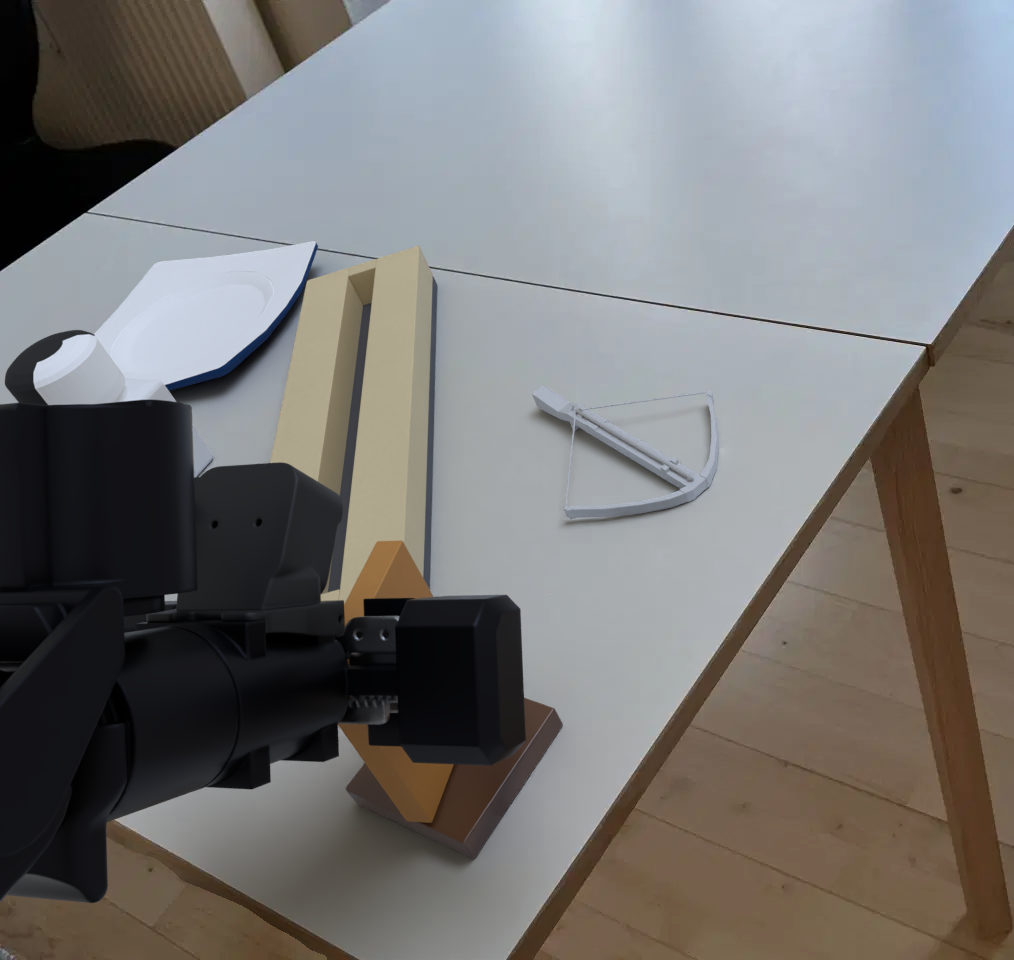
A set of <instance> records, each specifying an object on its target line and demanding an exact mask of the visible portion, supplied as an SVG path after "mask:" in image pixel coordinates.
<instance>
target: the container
mask: <svg viewBox="0 0 1014 960" xmlns="http://www.w3.org/2000/svg"><path fill="white" fill-rule="evenodd" d="M94 334H95V333H93V332H90V331H86V330H82V329H71V330H66V331H60V332H57V333H53V334H51V335H47V336H46V337H43V338H41V339H39V340H37V341H35V342H34V343H32V344H31V345H29V346H28V347H27V348H25V349H24V350H23V351H22V352H20V353H19V355H17V356H16V358H15V359H14V360H13V361H12V362H11V364H10V365H9V366H8V368H7V369H6V372H5V374H4V375H5V376H4V386H5V388H6V389H7V390H8V391H9V393H10V394H11V395H12V396H13V398H14V399H15V400H16V401H17V403H29V404H40V405H68V404H102V403H113V402H124V401H134V400H164V401H172V402H177V400H176V398H174V396H173V394H172V393H171V392H170V391H169V390H168V389H167V388H166V386H165V385H164V383H163V382H162V381H160V380H152V379H134V378H125V377H124V375H123V374H122V372H121V371H120V369H119V368H118V367H117V365H116V364H115V363H114V361H113V360H112V358H111V357H110V356H109V354H108V353H107V351H106V350H105V349H104V347H103V346H102V345H101V343H100V342H99V340H98V339H97V338H96V336H95V335H94ZM192 428H193V459H194V477H199V475H200V474H201V473H202V472H203V471H204V469H205V468H206V467H207V466H208V465H209V464H210V462H211V461H212V460H213V459H214V454H213V452H212V450H211V449H210V448H209V446H208V444H207V443H206V442H205V441H204V439H203V438H202V435H200V433H199V432H198V430H196V428H195V426H194V425H193V424H192Z"/></svg>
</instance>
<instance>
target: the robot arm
mask: <svg viewBox="0 0 1014 960" xmlns="http://www.w3.org/2000/svg"><path fill="white" fill-rule="evenodd" d="M192 425H193V407H192V406H191V405H190V404H188V403H184V402H178V401H176V402H172V401H164V400H134V401H124V402H113V403H102V404H68V405H40V404H29V403H19V402H12V403H1V404H0V903H1V902H2V901H3V900H4V899H5V897H6V896H12V897H22V898H33V899H43V900H52V901H63V902H64V901H65V902H76V903H84V904H85V903H86V904H95V903H99V902H100V901H101V900H102V899H104V898H105V896H106V895H107V892H108V887H109V886H108V885H109V879H108V878H109V876H108V843H107V823H109V822H112V821H114V820H118V819H120V818H123V817H126V816H128V815H131V814H134V813H137V812H140V811H143V810H146V809H148V808H151V807H154V806H158V805H160V804H162V803H165V802H168V801H171V800H174V799H176V798H179V797H182V796H184V795H187V794H191V793H193V792H196V791H199V790H202V789H204V788H210V789H211V788H212V789H213V788H214V789H233V790H234V789H235V790H254V789H258V788H261V787H262V786H265V785H267V784H270V783H272V778H271V776H272V775H271V764H272V765H273V764H274V763H277V762H279V761H280V762H281V761H284V762H310V763H311V762H312V763H325V762H328V761H330V760H333V759H335V758H338V757H340V747H339V742H340V741H339V726H338V724H368V741H369V745H370V746H400V747H402V748H403V750H404V751H405V752H406V754H407V755H408V757H409V758H410V759H411V761H412V762H413V763H432V764H459V765H486V766H492V765H494V764H496V763H498V762H500V761H502V760H504V759H506V758H508V757H510V756H512V755H513V754H514V753H515V752H516V751H517V750H518V749H519V748H520V747H521V745H522V744H523V743H524V742H525V741H526V733H525V708H524V698H525V689H524V688H525V687H524V686H525V685H524V663H523V662H524V661H523V638H522V613H521V612H522V611H521V608H520V607H519V606H518V604H517V603H516V602H515V601H513V599H512V598H511V597H510V596H509V595H508V594H479V595H478V594H472V595H471V594H470V595H467V594H466V595H465V594H464V595H441V596H433V597H425V598H417V599H415V598H373V599H364V600H363V605H364V616H361V617H356V618H352V619H351V620H349V621H348V623H347V624H346V626H345V615H344V600H332V601H321V594H322V592H323V591H324V589H325V587H326V585H327V581H328V577H329V571H330V565H331V560H332V554H333V548H334V542H335V537H336V531H337V526H338V524H340V522H341V520H342V515H343V502H342V500H341V497H340V496H339V495H338V494H337V493H336V492H334V491H332V490H331V489H329V488H328V487H326V486H324V485H323V484H321V483H319V482H318V481H316V480H314V479H313V478H311V477H309V476H308V475H306V474H305V473H303V472H301V471H300V470H298V469H296V468H295V467H293V466H291V465H290V464H288V463H283V462H278V463H270V462H266V463H265V462H263V463H250V464H249V463H248V464H233V465H220V466H215V467H211V468H210V469H207V470H206V471H205V472H203V473H202V474H201V476H197V477H194V459H193V428H192ZM169 595H177V596H176V600H166V597H165V596H169ZM348 659H349V664H348ZM350 695H351V697H350Z"/></svg>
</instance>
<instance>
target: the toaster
mask: <svg viewBox="0 0 1014 960" xmlns="http://www.w3.org/2000/svg"><path fill="white" fill-rule="evenodd" d="M437 307H438V283H437V281H436V279H435V276H434V274H433V272H432V270H431V268H430V266H429V263H428V261H427V259H426V257H425V255H424V253H423V250H422V248H421V246H420V245H416V246H413V247H410V248H406V249H403V250H401V251H397V252H394V253H391V254H387V255H384V256H381V257H378V258H375V259H374V258H373V259H372V260H368V261H365V262H361V263H359V264H355V265H352V266H349V267H346V268H343V269H340V270H336V271H333V272H330V273H327V274H323V275H320V276H317V277H314V278H311V279H306V282H305V289H304V293H303V298H302V303H301V309H300V313H299V317H298V323H297V328H296V333H295V338H294V343H293V348H292V353H291V357H290V363H289V367H288V372H287V377H286V382H285V386H284V391H283V396H282V400H281V401H282V402H281V406H280V412H279V416H278V421H277V427H276V431H275V436H274V441H273V446H272V450H271V451H272V452H271V455H270V460H269V463H278V462H283V463H288V464H290V465H291V466H293V467H295V468H296V469H298V470H300V471H301V472H303V473H305V474H306V475H308V476H309V477H311V478H313V479H314V480H316V481H318V482H319V483H321V484H323V485H324V486H326V487H328V488H329V489H331V490H332V491H334V492H336V493H337V494H338V495H339V496H340V497H341V500H342V502H343V515H342V520H341V522H340V524H338V526H337V531H336V537H335V542H334V548H333V554H332V560H331V565H330V571H329V577H328V581H327V585H326V587H325V589H324V591H323V592H322V594H321V601H332V600H344V604H345V602H346V600H347V598H348V596H349V594H350V592H351V590H352V588H353V586H354V584H355V583H356V581H357V579H358V577H359V575H360V573H361V571H362V569H363V567H364V565H365V563H366V561H367V559H368V557H369V556H370V554H371V552H372V550H373V548H374V546H375V544H376V542H377V541H400V540H402V541H403V542H404V544H405V546H406V548H407V549H408V551H409V553H410V555H411V557H412V559H413V560H414V562H415V564H416V566H417V568H418V569H419V571H420V573H421V575H422V577H423V578H424V580H425V582H426V584H427V586H428V588H429V589H430V590H431V555H432V554H431V551H432V549H431V548H432V516H433V515H432V511H433V510H432V509H433V477H434V476H433V473H434V472H433V470H434V469H433V468H434V431H435V394H436V393H435V391H436V389H435V388H436V351H437V350H436V349H437V311H438V309H437Z"/></svg>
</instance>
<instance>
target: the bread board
mask: <svg viewBox="0 0 1014 960" xmlns="http://www.w3.org/2000/svg"><path fill="white" fill-rule="evenodd" d="M524 708H525V733H526V741H525V742H524V743H523V744H522V745H521V747H520V748H519V749H518V750H517V751H516V752H515V753H514V754H513V755H512V756H510V757H508V758H506V759H504V760H502V761H500V762H498V763H496V764H494V765H492V766H486V765H459V764H454V765H453V768H452V771H451V773H450V776H449V779H448V781H447V784H446V787H445V789H444V792H443V795H442V797H441V800H440V803H439V805H438V808H437V811H436V813H435V816H434V819H433V821H432V823H425V822H408V821H406V820H405V818H404V817H403V816H402V814H401V813H400V811H399V810H398V809H397V807H396V806H395V804H394V803H393V802H392V800H391V799H390V797H389V796H388V795H387V793H386V792H385V790H384V789H383V787H382V786H381V785H380V783H379V782H378V780H377V779H376V778H375V776H374V775H373V773H372V772H371V771H370V769H369V768H368V766H367V765H366V764H365V762H364V763H363V764H362V766H361V767H360V768H359V770H358V771H357V772H356V773H355V775H354V776H353V778H352V779H351V780H350V782H349V783H348V784H347V785H346V786H345V788H344V789H345V791H346V792H347V794H348V795H349V796H350V797H351V799H352V801H354V802H355V804H357V805H358V806H360V807H362V808H365V809H366V810H368V811H370V812H373V813H375V814H377V815H379V816H381V817H383V818H386V819H388V820H390V821H392V822H394V823H396V824H398V825H401V826H402V827H404V828H407V829H409V830H411V831H414V832H415V833H418V834H419V835H422V836H424V837H426V838H428V839H431V840H432V841H434V842H437V843H439V844H440V845H443V846H445V847H447V848H449V849H452V850H454V851H455V852H458V853H460V854H461V855H465V856H466V857H469V858H471V859H476V857H477V856H478V855H479V853H480V852H481V850H482V848H483V847H484V845H485V844H486V842H487V841H488V839H489V838H490V837H491V835H492V834H493V832H494V830H496V827H497V826H498V824H499V823H500V821H501V820H502V818H503V816H504V815H505V814H506V812H507V811H508V809H509V808H510V806H511V805H512V803H513V801H514V800H515V799H516V797H517V795H518V794H519V792H520V791H521V789H522V788H523V786H524V785H525V783H527V780H528V779H529V778H530V776H531V774H532V773H533V771H534V770H535V768H536V767H537V765H538V764H539V762H540V761H541V760H542V758H543V756H544V755H545V754H546V751H547V750H548V749H549V747H550V746H551V744H552V743H553V741H554V740H555V738H556V736H557V735H558V734H559V732H560V730H561V729H562V727H563V725H564V724H563V721H562V720H561V718H560V716H559V714H558V712H557V711H556V709H555V707H552V706H549V705H547V704H543V703H541V702H538V701H535V700H533V699H529V698H526V697H524Z"/></svg>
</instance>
